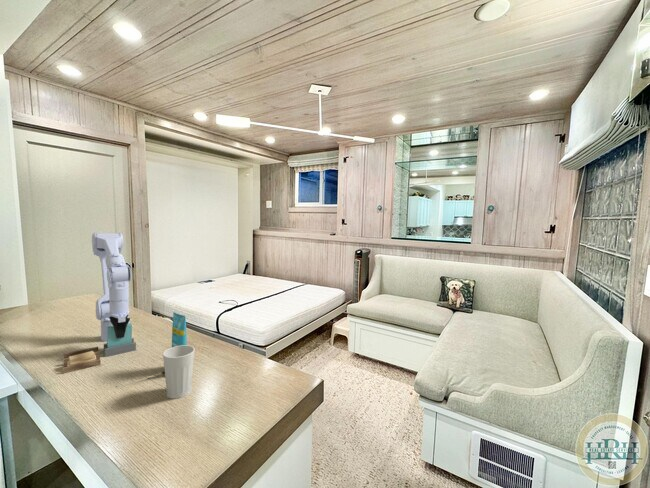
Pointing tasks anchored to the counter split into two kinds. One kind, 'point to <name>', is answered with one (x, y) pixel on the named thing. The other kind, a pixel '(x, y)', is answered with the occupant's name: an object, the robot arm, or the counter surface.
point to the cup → (178, 370)
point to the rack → (83, 365)
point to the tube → (179, 330)
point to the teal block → (113, 341)
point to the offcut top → (81, 357)
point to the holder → (119, 349)
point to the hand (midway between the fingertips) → (119, 336)
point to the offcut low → (81, 362)
